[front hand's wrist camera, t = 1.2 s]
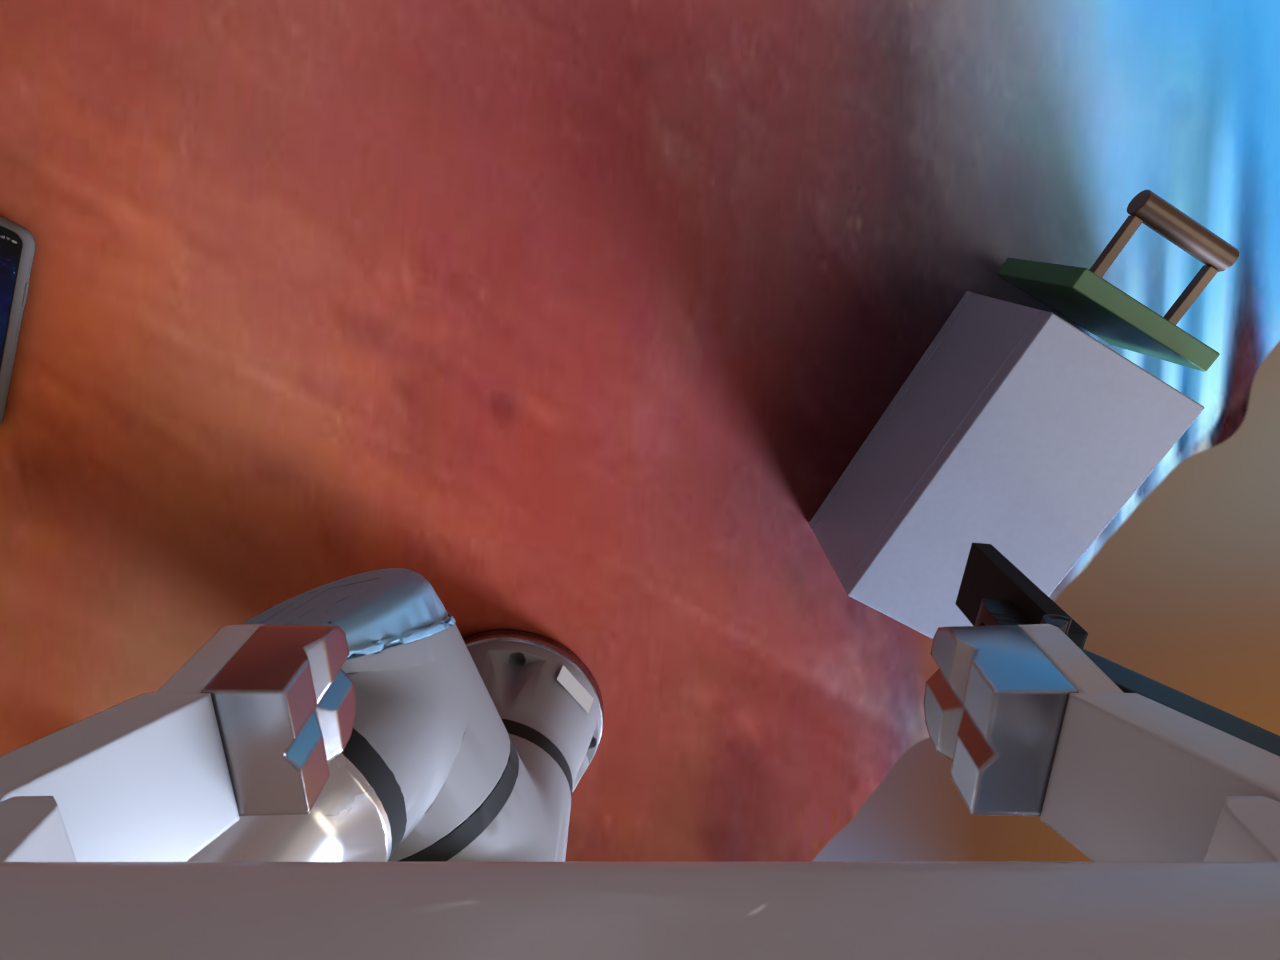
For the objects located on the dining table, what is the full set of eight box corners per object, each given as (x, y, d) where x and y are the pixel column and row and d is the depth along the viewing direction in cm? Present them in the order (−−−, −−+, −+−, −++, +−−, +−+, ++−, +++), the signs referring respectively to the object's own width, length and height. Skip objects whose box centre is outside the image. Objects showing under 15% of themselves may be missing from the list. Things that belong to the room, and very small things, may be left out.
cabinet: (966, 290, 51) (1052, 312, 40) (1092, 367, 52) (1206, 407, 42) (808, 523, 56) (847, 595, 46) (926, 585, 58) (989, 668, 48)
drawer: (1061, 178, 47) (1154, 172, 39) (1178, 256, 49) (1292, 266, 40) (850, 485, 54) (890, 537, 46) (959, 544, 56) (1016, 604, 47)
